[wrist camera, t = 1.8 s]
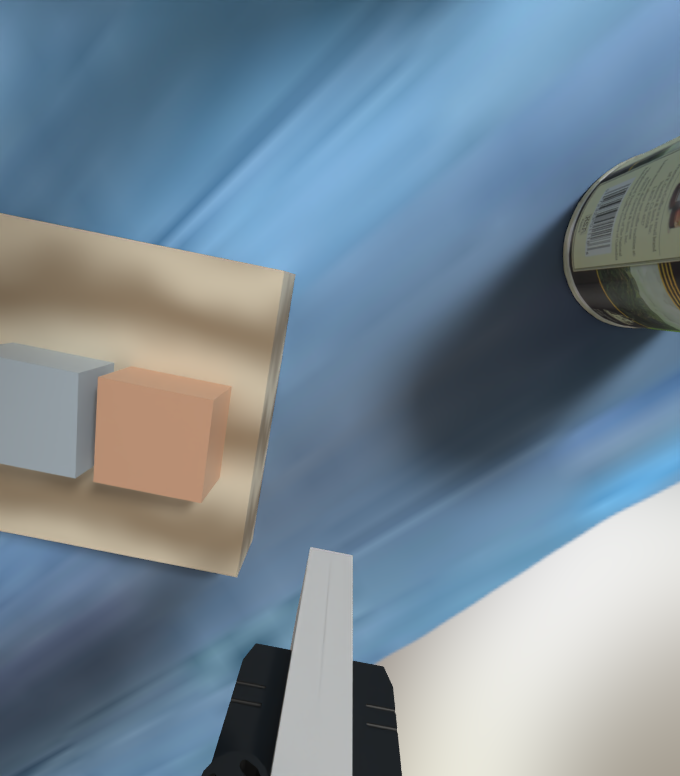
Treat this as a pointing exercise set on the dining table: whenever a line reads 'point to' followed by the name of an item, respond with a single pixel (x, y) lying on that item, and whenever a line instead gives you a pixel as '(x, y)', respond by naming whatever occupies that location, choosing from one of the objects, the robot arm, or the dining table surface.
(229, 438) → the wavy grain square board
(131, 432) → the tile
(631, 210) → the coffee can
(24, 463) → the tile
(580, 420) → the dining table surface
